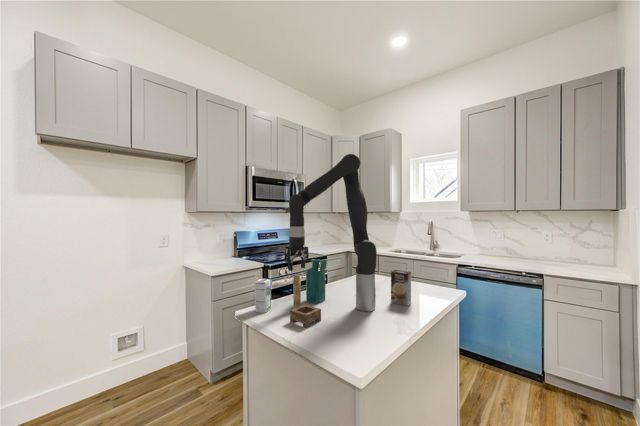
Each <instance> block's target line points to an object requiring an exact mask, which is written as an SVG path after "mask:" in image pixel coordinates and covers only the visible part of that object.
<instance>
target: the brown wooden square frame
mask: <svg viewBox="0 0 640 426" xmlns="http://www.w3.org/2000/svg"><path fill="white" fill-rule="evenodd" d="M321 321H322V309H321V308H318V307H315V306H311V305H308V304H302V305H301V306H300V307H297V308H295V309H294V308H293V309H289V322H290V323H291V324H295V323H296V322H299V323H302V327H303V328H305V329H307V328H309V327H310V323H312V322H317V323H319V322H321Z"/></svg>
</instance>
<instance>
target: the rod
mask: <svg viewBox="0 0 640 426" xmlns="http://www.w3.org/2000/svg"><path fill="white" fill-rule="evenodd" d="M292 277H293V278H292V279H293V280H292V281H293V282H292V283H293V286H292V288H293V295H292V296H293V298H292V299H293V302H292V303H293V309H295V308H297V307H300V306H302V305H301V303H302V302H301V301H302V300H301V289H302V288H301V275H293V276H292Z"/></svg>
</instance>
